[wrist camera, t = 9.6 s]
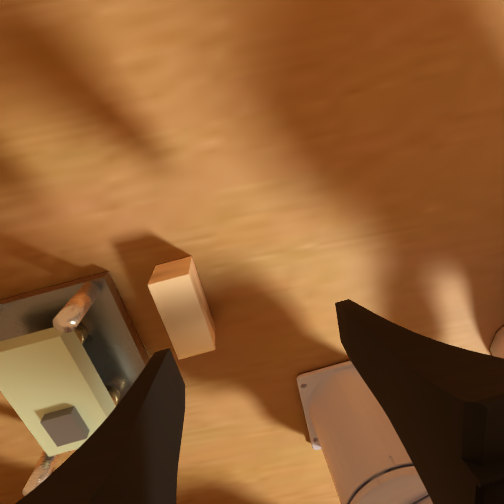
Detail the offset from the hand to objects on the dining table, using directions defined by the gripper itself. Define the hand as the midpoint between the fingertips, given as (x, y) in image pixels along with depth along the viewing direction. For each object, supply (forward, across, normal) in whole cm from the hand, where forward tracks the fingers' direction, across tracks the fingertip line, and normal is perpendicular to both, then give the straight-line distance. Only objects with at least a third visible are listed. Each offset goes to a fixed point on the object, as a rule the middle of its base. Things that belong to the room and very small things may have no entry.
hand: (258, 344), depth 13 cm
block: (+10, +4, +2) cm, 11 cm away
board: (+7, +14, +5) cm, 17 cm away
